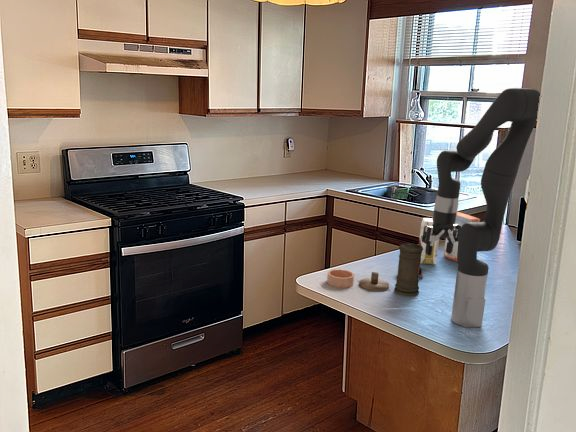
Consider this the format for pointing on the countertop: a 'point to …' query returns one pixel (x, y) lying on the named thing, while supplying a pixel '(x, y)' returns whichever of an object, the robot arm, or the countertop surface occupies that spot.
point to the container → (408, 269)
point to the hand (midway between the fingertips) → (438, 253)
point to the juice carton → (424, 257)
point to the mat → (371, 290)
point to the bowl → (340, 278)
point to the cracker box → (460, 220)
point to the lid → (374, 283)
